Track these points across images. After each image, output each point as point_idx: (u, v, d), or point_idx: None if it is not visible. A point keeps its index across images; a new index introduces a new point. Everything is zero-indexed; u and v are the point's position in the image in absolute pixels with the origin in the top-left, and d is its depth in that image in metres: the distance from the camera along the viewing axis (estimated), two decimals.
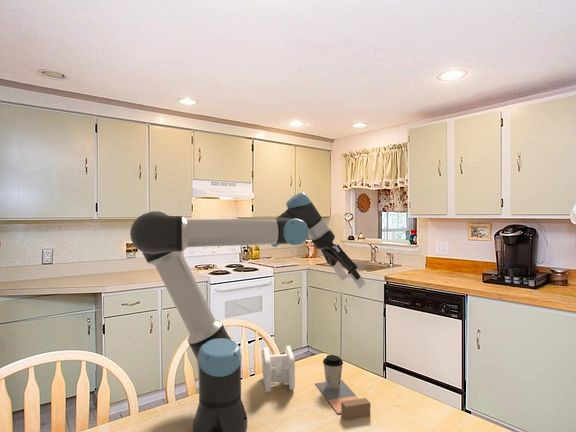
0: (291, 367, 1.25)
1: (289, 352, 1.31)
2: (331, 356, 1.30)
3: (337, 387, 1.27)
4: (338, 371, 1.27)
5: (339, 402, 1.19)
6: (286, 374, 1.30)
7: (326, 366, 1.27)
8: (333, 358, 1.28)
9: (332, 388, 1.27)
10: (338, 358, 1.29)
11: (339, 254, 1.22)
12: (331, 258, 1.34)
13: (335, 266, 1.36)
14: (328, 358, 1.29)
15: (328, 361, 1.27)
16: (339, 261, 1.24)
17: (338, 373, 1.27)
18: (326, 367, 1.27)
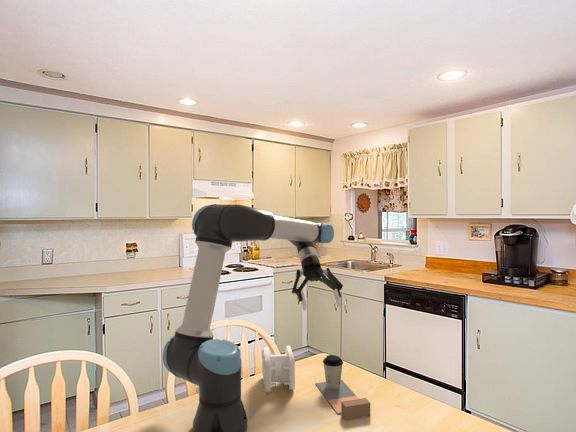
0: (291, 367, 1.25)
1: (289, 352, 1.31)
2: (331, 356, 1.30)
3: (337, 387, 1.27)
4: (338, 371, 1.27)
5: (339, 402, 1.19)
6: (286, 374, 1.30)
7: (326, 366, 1.27)
8: (333, 358, 1.28)
9: (332, 388, 1.27)
10: (338, 358, 1.29)
11: None
12: (305, 283, 1.44)
13: None
14: (328, 358, 1.29)
15: (328, 361, 1.27)
16: (328, 279, 1.47)
17: (338, 373, 1.27)
18: (326, 367, 1.27)
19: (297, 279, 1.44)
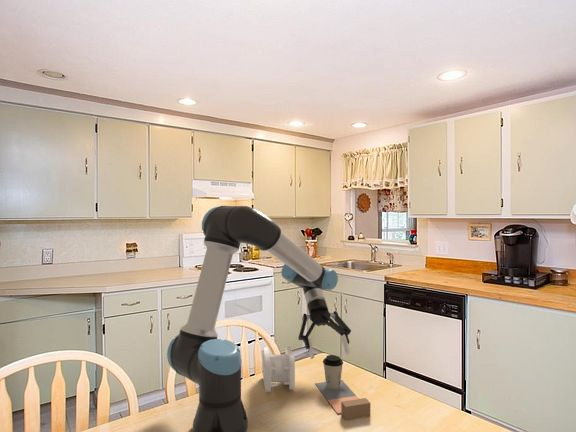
0: (291, 367, 1.25)
1: (289, 352, 1.31)
2: (331, 356, 1.30)
3: (337, 387, 1.27)
4: (338, 371, 1.27)
5: (339, 402, 1.19)
6: (286, 374, 1.30)
7: (326, 366, 1.27)
8: (333, 358, 1.28)
9: (332, 388, 1.27)
10: (338, 358, 1.29)
11: None
12: (312, 329, 1.39)
13: None
14: (328, 358, 1.29)
15: (328, 361, 1.27)
16: (335, 324, 1.42)
17: (338, 373, 1.27)
18: (326, 367, 1.27)
19: (304, 324, 1.39)
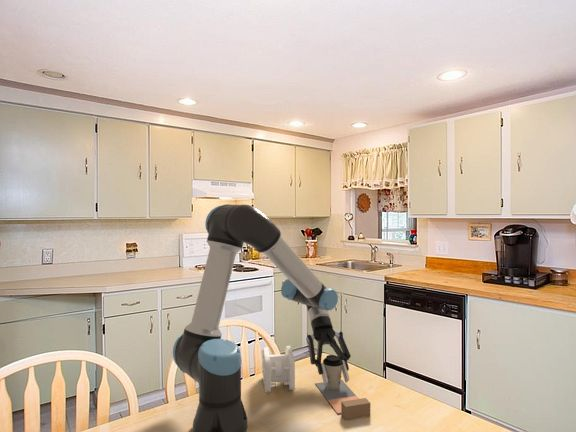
0: (291, 367, 1.25)
1: (289, 352, 1.31)
2: (331, 356, 1.30)
3: (337, 387, 1.27)
4: (338, 371, 1.27)
5: (339, 402, 1.19)
6: (286, 374, 1.30)
7: (326, 366, 1.27)
8: (333, 358, 1.28)
9: (332, 388, 1.27)
10: (338, 358, 1.29)
11: None
12: None
13: None
14: (328, 358, 1.29)
15: (328, 361, 1.27)
16: (337, 346, 1.34)
17: (338, 373, 1.27)
18: (326, 367, 1.27)
19: (312, 347, 1.32)
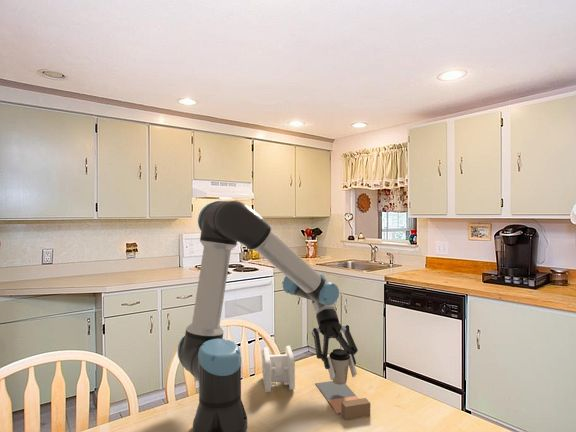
0: (291, 367, 1.25)
1: (289, 352, 1.31)
2: (338, 350, 1.26)
3: (344, 382, 1.23)
4: (345, 366, 1.22)
5: (339, 402, 1.19)
6: (286, 374, 1.30)
7: (333, 360, 1.23)
8: (340, 352, 1.24)
9: (339, 383, 1.23)
10: (345, 352, 1.24)
11: None
12: None
13: None
14: (335, 352, 1.24)
15: (335, 355, 1.23)
16: (344, 339, 1.29)
17: (345, 368, 1.22)
18: (333, 361, 1.23)
19: (318, 340, 1.27)
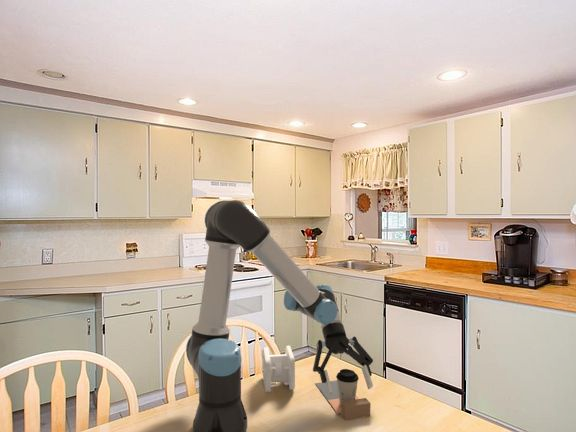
0: (291, 367, 1.25)
1: (289, 352, 1.31)
2: (345, 370, 1.19)
3: None
4: (353, 388, 1.15)
5: (339, 402, 1.19)
6: (286, 374, 1.30)
7: (340, 382, 1.15)
8: (347, 373, 1.17)
9: None
10: (353, 373, 1.17)
11: None
12: (328, 359, 1.21)
13: None
14: (342, 373, 1.17)
15: (342, 376, 1.16)
16: (355, 352, 1.23)
17: (353, 390, 1.15)
18: (340, 383, 1.16)
19: (319, 353, 1.20)
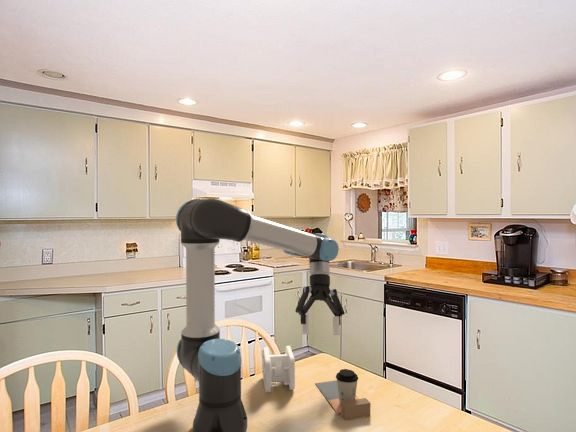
0: (291, 367, 1.25)
1: (289, 352, 1.31)
2: (345, 370, 1.19)
3: None
4: (353, 388, 1.15)
5: (339, 402, 1.19)
6: (286, 374, 1.30)
7: (340, 382, 1.15)
8: (347, 373, 1.17)
9: None
10: (353, 373, 1.17)
11: None
12: None
13: None
14: (342, 373, 1.17)
15: (342, 376, 1.16)
16: (333, 303, 1.38)
17: (353, 390, 1.15)
18: (340, 383, 1.16)
19: (305, 298, 1.32)
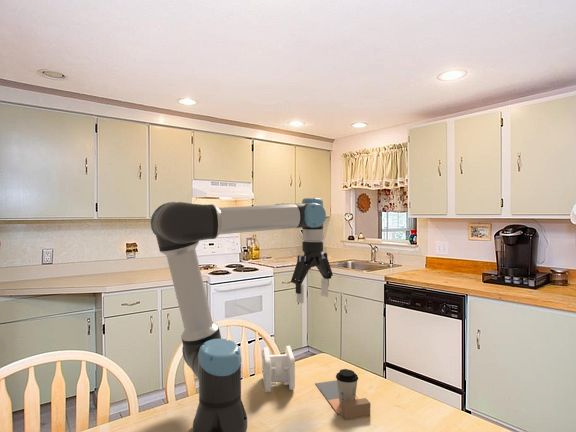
0: (291, 367, 1.25)
1: (289, 352, 1.31)
2: (345, 370, 1.19)
3: None
4: (353, 388, 1.15)
5: (339, 402, 1.19)
6: (286, 374, 1.30)
7: (340, 382, 1.15)
8: (347, 373, 1.17)
9: None
10: (353, 373, 1.17)
11: None
12: None
13: None
14: (342, 373, 1.17)
15: (342, 376, 1.16)
16: (323, 267, 1.39)
17: (353, 390, 1.15)
18: (340, 383, 1.16)
19: (301, 269, 1.30)
